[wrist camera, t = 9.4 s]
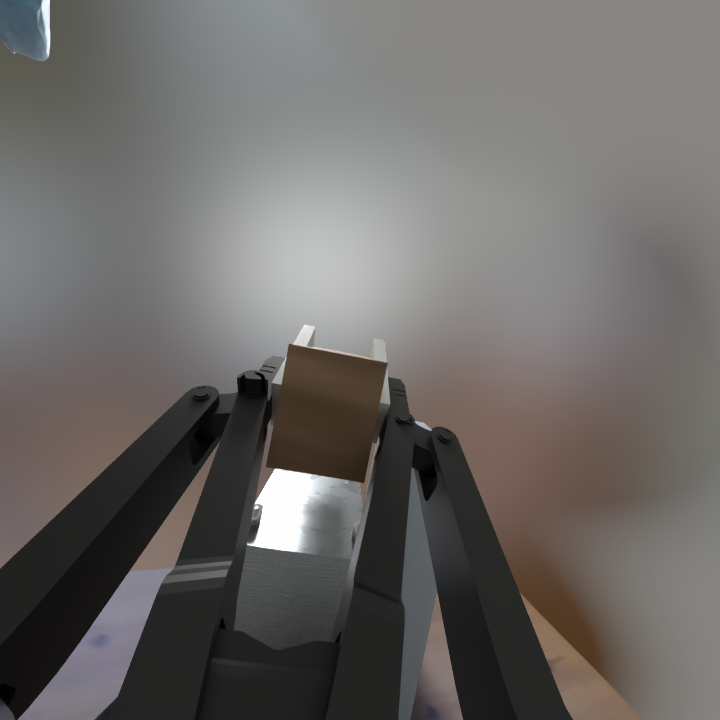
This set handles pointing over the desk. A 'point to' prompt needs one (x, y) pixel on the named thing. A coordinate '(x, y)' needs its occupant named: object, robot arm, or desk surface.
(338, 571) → the plate
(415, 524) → the stand
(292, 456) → the rail
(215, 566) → the robot arm
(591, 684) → the desk surface
